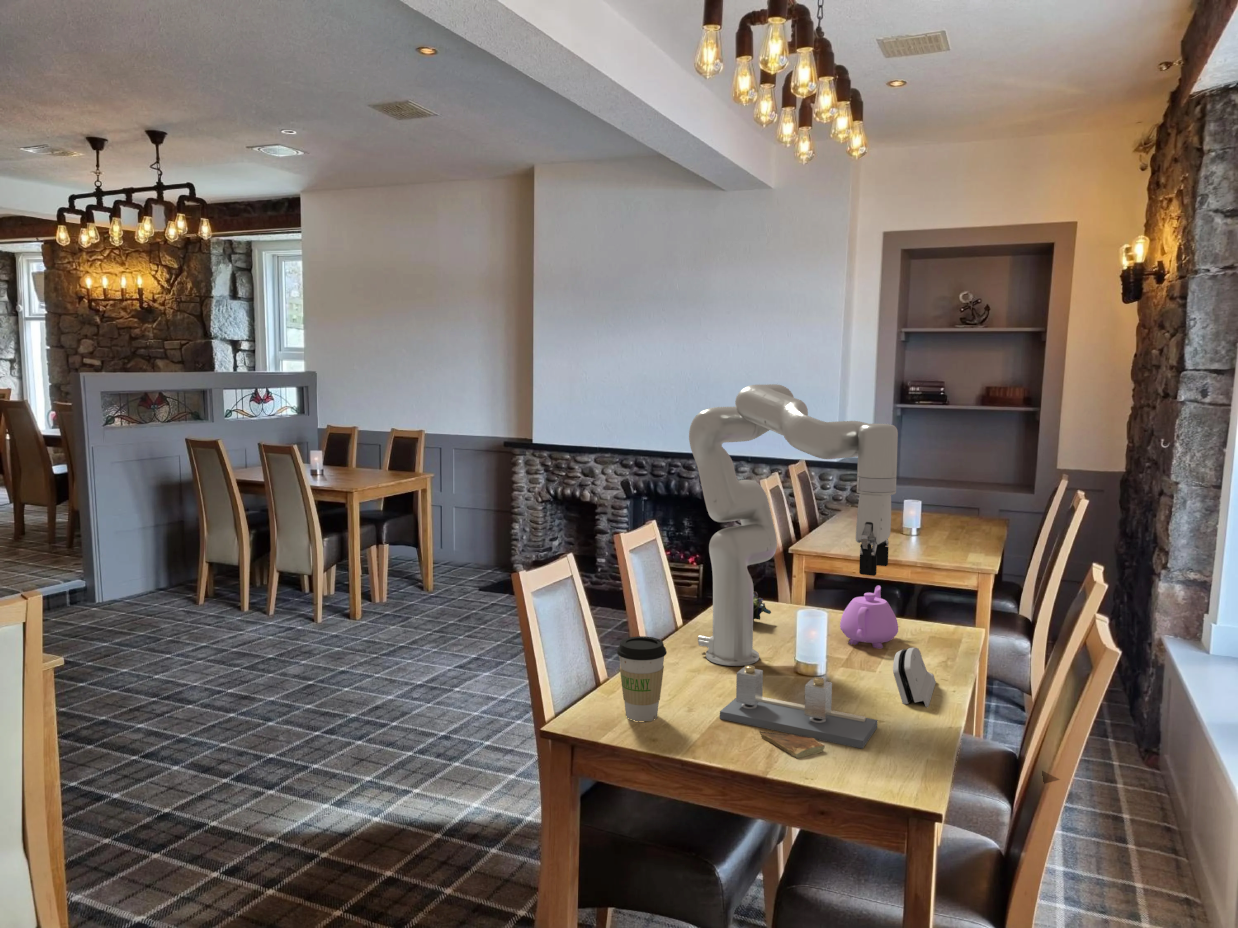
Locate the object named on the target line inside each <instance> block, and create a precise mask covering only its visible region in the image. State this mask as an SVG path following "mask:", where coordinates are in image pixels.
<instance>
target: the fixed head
mask: <svg viewBox="0 0 1238 928" xmlns="http://www.w3.org/2000/svg"><path fill="white" fill-rule="evenodd" d="M763 675H764V670H763V669H758V668H756V667H755V665H753V664H750V665H744V667H743V666H742V668H741V669H740V670H738V671H737V672H736V689H735V690H736V691H735V693H736V694H735V695H736V696H735V698H736V702H738V703H743V704H748V705H754V706H756V705H757V704H758V703H759V702H760V701H761V700H762V697H763V690H764V689H763V685H764V684H763V683H764V681H763V680H764V678H763V677H764V676H763Z"/></svg>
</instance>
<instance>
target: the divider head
mask: <svg viewBox="0 0 1238 928" xmlns="http://www.w3.org/2000/svg"><path fill="white" fill-rule="evenodd" d="M832 688H833V683H832V682H831V681H826V680H825V678H824V677H820V676H814V677H813V678H811V679H810V680H809V681H808V682H806V684H804V705H805V715H804V716H809V717H814V718H819V719H824V720H825V719H826V718H827V717H828V716H829V715H830V713H831V710H832V697H833V696H832V695H833V694H832V693H833V690H832Z"/></svg>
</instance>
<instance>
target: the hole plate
mask: <svg viewBox="0 0 1238 928" xmlns="http://www.w3.org/2000/svg"><path fill="white" fill-rule="evenodd" d="M804 715H805V704H802V703H795V702H791V701H784V700H781V699H775V698H771V697H770V698H769V697H764V696H762V700H761V701H760V702H759V703H758V704H757V705H756V706H754V705H748V704H743V703H738V702H736V697H735V698H734V699H732V700H731V701H730V702H729V703H728V704H727V705H726V706H725V707H723V708H722V709H721V710H720V711H719V719H720V720H723V721H730V722H733V723H740V724H743V725H748V726H753V727H758V728H762V729H766V730H767V729H768V730H772V731H776V732H781V733H784V734H791V735H798V736H806V737H811V738H814V739H815V740H818V741H819V740H820V741H823V742H829V743H834V744H838V745H843V746H848V747H853V748H857V749H862V750H863V749H864V748H865V746H866V745H867V743H868V742H869V740H870V739H871V737H872V736H873V735H874V733H875V731H876V730H877V729H878V719H875V718H870V717H867V716H864V715H863V716H862V715H860V714H854V713H847V712H843V711H838V710H837V711H836V710H832V709H831V713H830V715H829V716H828V717H827V718H826V719H825V720H824V719H819V718H814V717H809V716H804Z"/></svg>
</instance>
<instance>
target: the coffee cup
mask: <svg viewBox="0 0 1238 928" xmlns="http://www.w3.org/2000/svg"><path fill="white" fill-rule="evenodd" d="M619 643H620V644H619V645H618V647H617V649H616V654H617V655H618V658H619V671H620V681H621V682H620V683H621V687H622V688H621V689H622V695H623V696H622V697H623V702H624V709H625V710H624V711H625V717H626V716H627V718H629V719H632V720H635V721H650V722H653V721H655V720H656V719H657V718H658V713H659V712H658V711H659V703H660V700H661V693H662V685H663V677H664V670H665V669H664V667H665V666H664V662H665V661H664V660H665V657H666V655H667V648H666V647H665V644H664V642H663V640H661V639H659V638H657V637H654V636H653V637H652V636H642V635H641V636H630V637H626V638H624V639H622V640H621V641H620V642H619ZM627 718H626V719H627ZM629 719H628V720H629ZM654 719H655V720H654ZM652 720H653V721H652Z"/></svg>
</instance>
